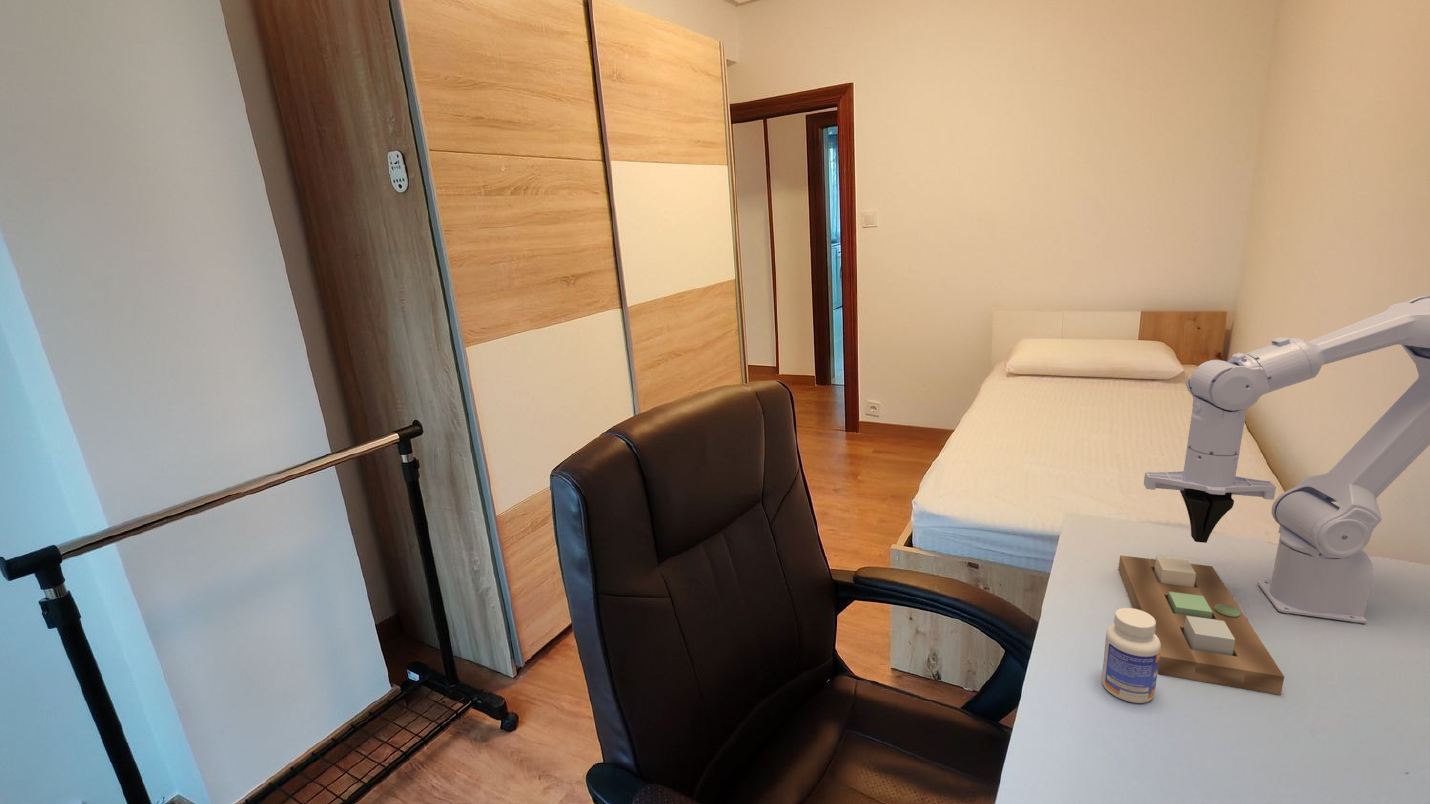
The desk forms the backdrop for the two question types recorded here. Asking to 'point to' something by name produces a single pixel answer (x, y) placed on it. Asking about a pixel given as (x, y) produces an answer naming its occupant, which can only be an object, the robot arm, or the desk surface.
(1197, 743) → the desk surface
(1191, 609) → the sage button
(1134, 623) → the pill bottle
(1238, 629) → the brown wooden slotted board
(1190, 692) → the desk surface
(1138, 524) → the desk surface
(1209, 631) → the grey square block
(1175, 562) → the cream button
